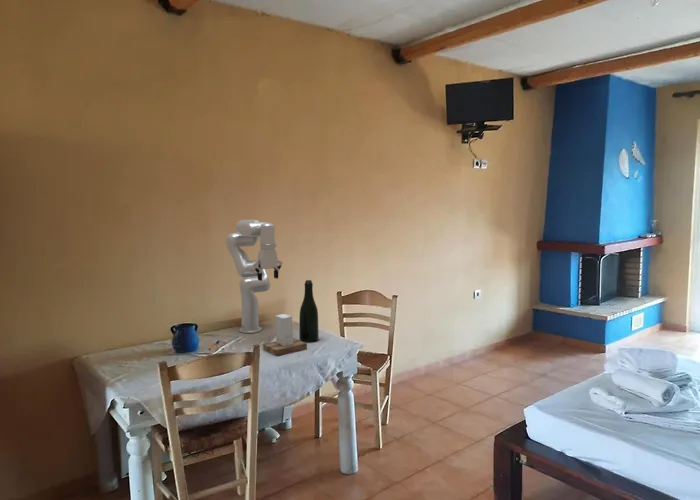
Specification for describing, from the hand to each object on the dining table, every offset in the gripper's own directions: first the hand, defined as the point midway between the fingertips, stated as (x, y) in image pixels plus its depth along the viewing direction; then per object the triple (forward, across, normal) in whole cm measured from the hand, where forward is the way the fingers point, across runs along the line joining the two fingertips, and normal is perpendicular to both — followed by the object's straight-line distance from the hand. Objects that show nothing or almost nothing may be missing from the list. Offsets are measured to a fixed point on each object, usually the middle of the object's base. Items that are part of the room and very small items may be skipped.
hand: (268, 279), depth 274 cm
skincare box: (+31, 0, +16) cm, 35 cm away
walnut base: (+34, 0, +16) cm, 38 cm away
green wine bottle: (+34, -19, +10) cm, 41 cm away
